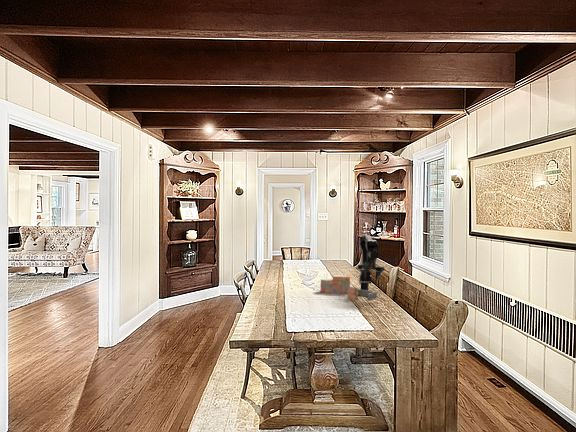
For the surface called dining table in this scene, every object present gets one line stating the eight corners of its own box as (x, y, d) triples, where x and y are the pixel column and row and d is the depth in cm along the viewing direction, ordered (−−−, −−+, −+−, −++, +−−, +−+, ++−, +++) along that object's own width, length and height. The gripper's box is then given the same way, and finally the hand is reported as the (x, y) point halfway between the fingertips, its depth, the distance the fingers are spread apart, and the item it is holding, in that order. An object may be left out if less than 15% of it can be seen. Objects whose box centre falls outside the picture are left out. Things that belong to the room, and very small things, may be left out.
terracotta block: (351, 298, 316) (351, 287, 316) (357, 299, 313) (357, 287, 312) (347, 299, 312) (347, 287, 312) (353, 300, 309) (354, 288, 309)
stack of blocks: (320, 292, 336) (320, 276, 336) (320, 291, 342) (320, 274, 342) (349, 293, 335) (350, 276, 334) (349, 292, 341) (349, 275, 341)
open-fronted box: (355, 294, 332) (355, 288, 331) (376, 297, 321) (376, 291, 321) (347, 296, 323) (347, 290, 323) (368, 299, 312) (368, 294, 312)
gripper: (353, 257, 322) (353, 279, 322) (377, 260, 310) (376, 282, 310) (361, 256, 331) (361, 278, 331) (385, 258, 319) (384, 281, 319)
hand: (370, 280), depth 322 cm, fingers open, 9 cm apart
